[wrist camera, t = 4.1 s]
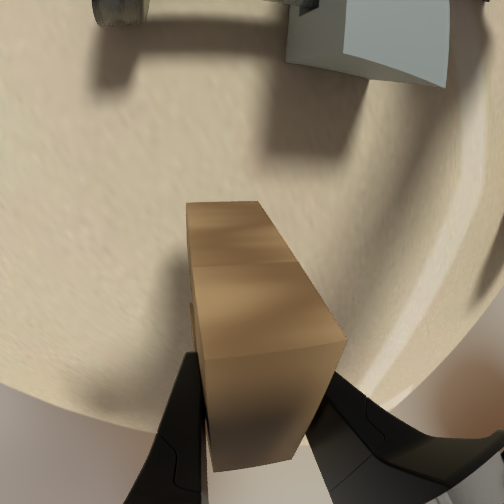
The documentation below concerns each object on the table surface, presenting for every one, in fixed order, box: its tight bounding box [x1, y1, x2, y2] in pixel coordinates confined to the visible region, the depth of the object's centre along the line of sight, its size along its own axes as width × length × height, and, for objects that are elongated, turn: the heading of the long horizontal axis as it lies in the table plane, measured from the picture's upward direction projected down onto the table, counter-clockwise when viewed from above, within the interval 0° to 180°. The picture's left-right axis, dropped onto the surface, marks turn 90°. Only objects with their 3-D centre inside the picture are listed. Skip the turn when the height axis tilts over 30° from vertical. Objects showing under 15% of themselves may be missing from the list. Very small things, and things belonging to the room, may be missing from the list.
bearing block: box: [285, 0, 450, 88], centre depth 11 cm, size 6×8×7 cm
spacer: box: [186, 201, 347, 472], centre depth 11 cm, size 3×7×8 cm, turn 175°
